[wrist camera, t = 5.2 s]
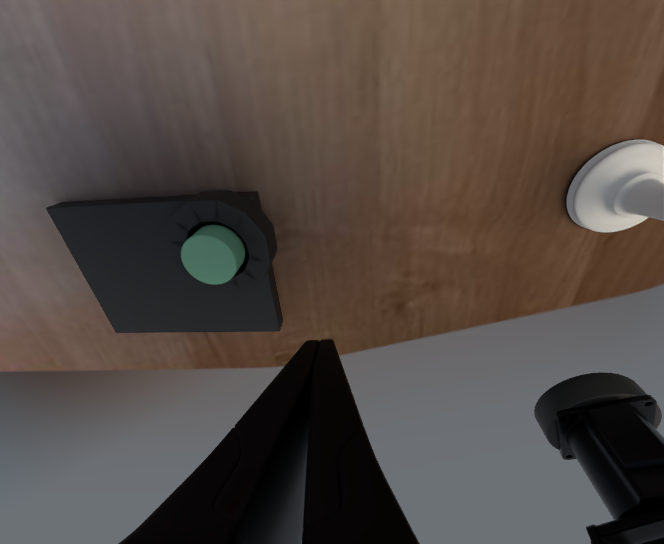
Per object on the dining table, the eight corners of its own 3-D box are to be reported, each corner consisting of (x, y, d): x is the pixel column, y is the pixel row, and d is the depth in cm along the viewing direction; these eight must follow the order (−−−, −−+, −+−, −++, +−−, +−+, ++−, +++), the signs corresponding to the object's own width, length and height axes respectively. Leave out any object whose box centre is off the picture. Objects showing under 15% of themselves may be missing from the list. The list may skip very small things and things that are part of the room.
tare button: (239, 222, 16) (228, 234, 15) (250, 270, 18) (241, 284, 17) (186, 225, 17) (172, 236, 15) (202, 272, 18) (190, 285, 17)
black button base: (272, 182, 18) (257, 197, 15) (295, 320, 23) (287, 349, 20) (57, 195, 19) (11, 210, 16) (126, 323, 24) (98, 350, 22)
